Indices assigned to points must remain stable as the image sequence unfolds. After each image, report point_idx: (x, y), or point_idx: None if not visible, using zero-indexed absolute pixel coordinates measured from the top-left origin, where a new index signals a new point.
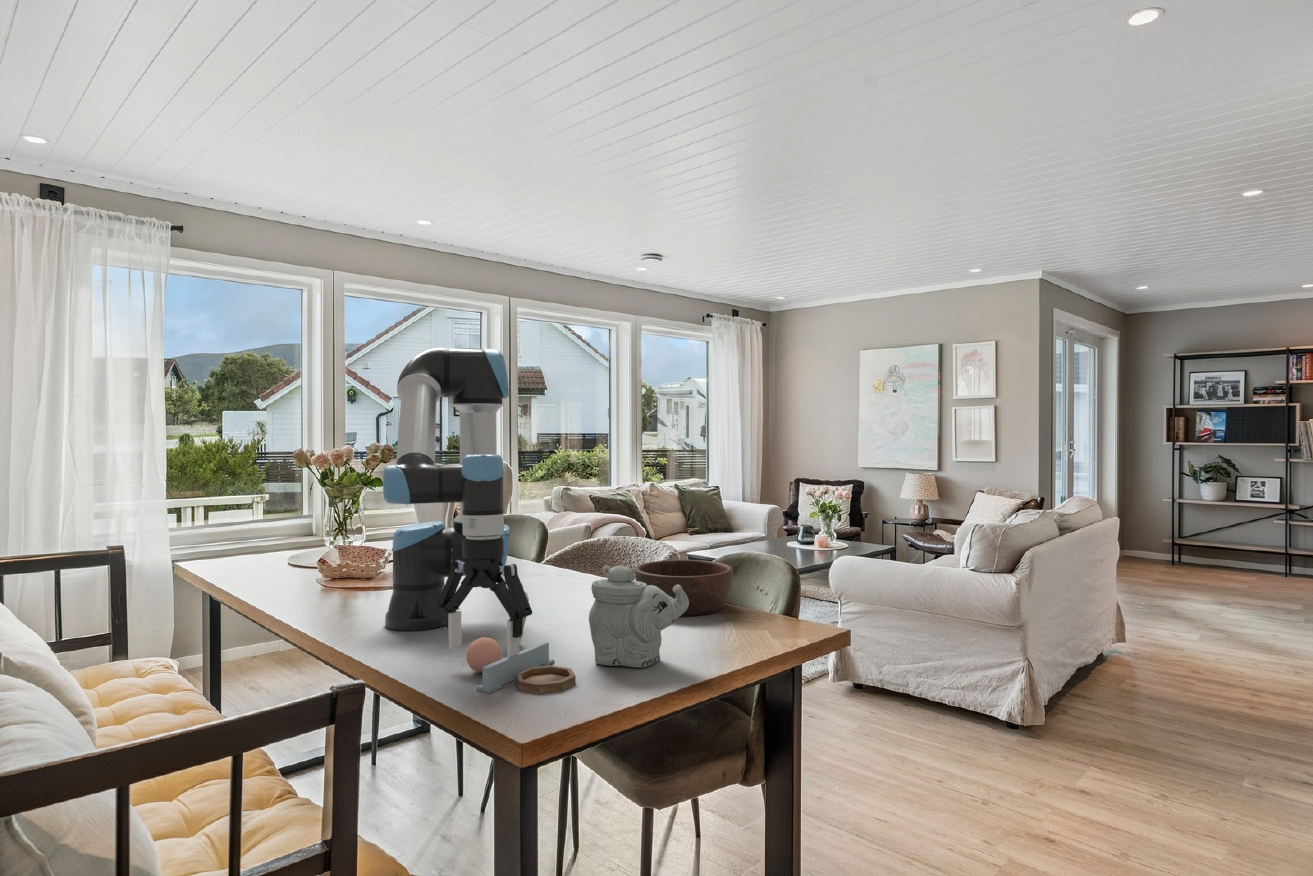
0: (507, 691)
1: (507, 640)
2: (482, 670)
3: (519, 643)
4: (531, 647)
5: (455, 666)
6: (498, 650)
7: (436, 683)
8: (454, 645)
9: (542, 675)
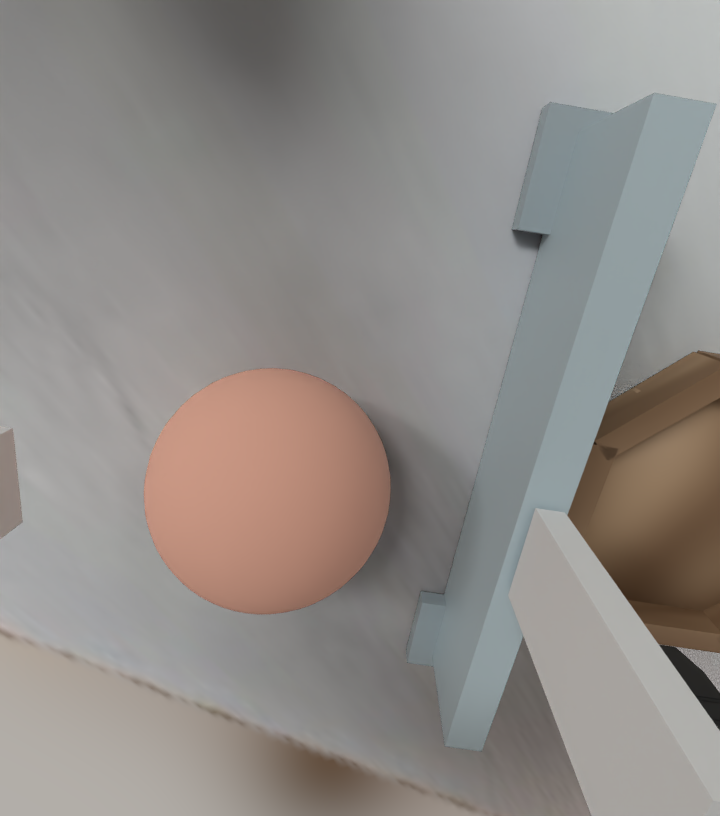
0: None
1: (548, 691)
2: (443, 729)
3: (597, 560)
4: (594, 326)
5: (74, 393)
6: (384, 506)
7: (183, 621)
8: (7, 502)
9: (661, 436)
